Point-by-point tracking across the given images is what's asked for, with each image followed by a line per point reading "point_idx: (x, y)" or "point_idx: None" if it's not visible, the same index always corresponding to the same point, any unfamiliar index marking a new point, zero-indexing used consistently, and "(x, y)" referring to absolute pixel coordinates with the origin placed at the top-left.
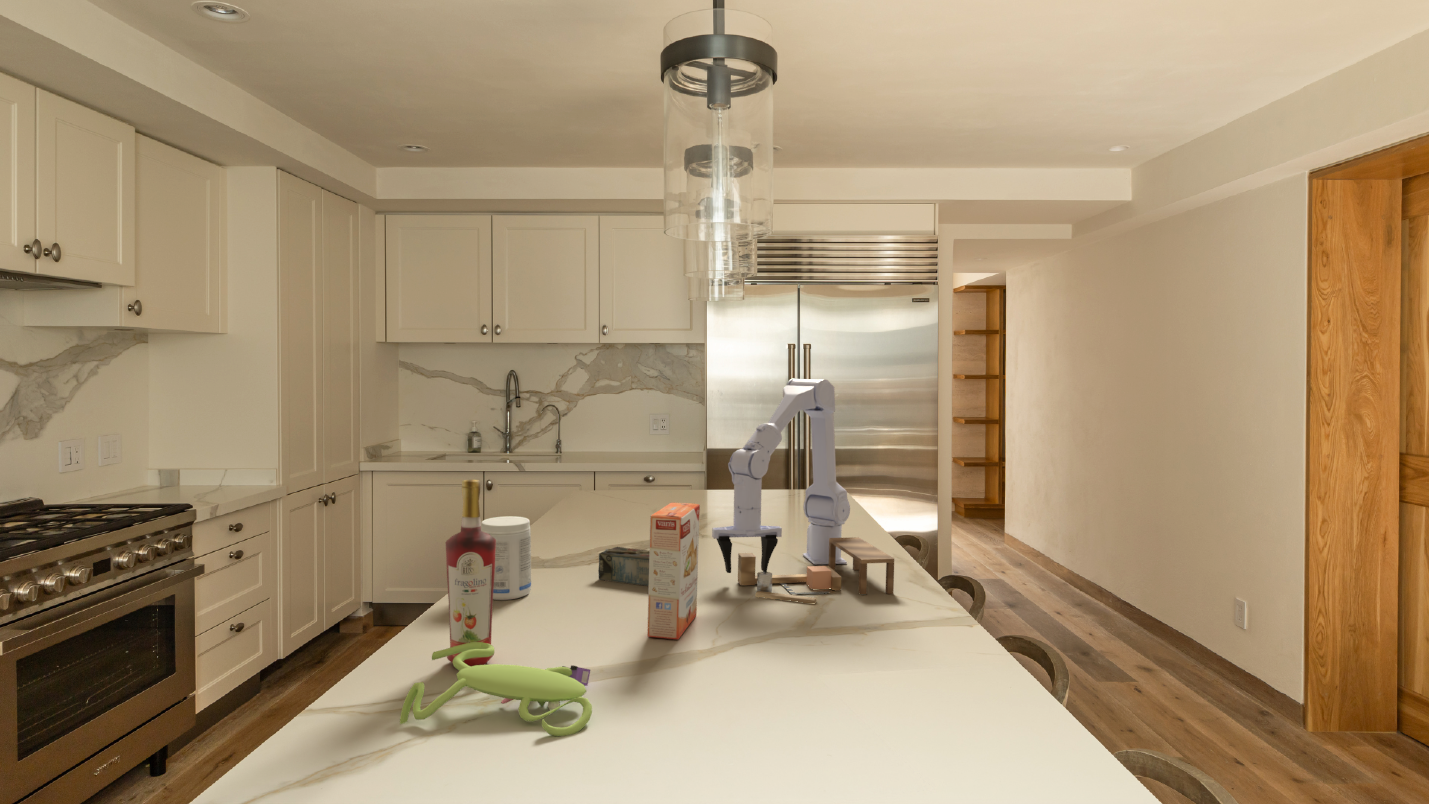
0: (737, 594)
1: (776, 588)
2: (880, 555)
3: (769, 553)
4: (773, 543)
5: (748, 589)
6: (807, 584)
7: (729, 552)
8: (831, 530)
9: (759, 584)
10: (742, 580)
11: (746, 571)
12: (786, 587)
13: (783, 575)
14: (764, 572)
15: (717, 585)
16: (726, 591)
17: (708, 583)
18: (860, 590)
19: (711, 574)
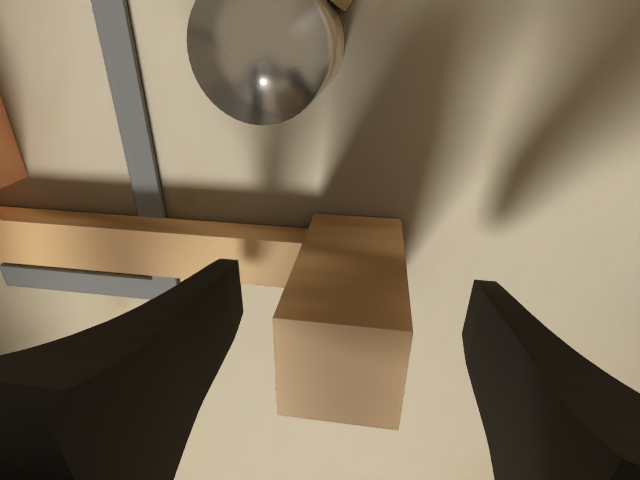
0: (493, 40)
1: (198, 138)
2: None
3: (131, 320)
4: (5, 369)
5: (374, 148)
6: (15, 160)
7: (566, 382)
8: None
9: (328, 10)
10: (392, 231)
11: (364, 257)
12: (136, 124)
13: (127, 263)
14: (251, 94)
15: (531, 263)
16: (537, 129)
17: (565, 307)
18: None
19: (473, 427)
